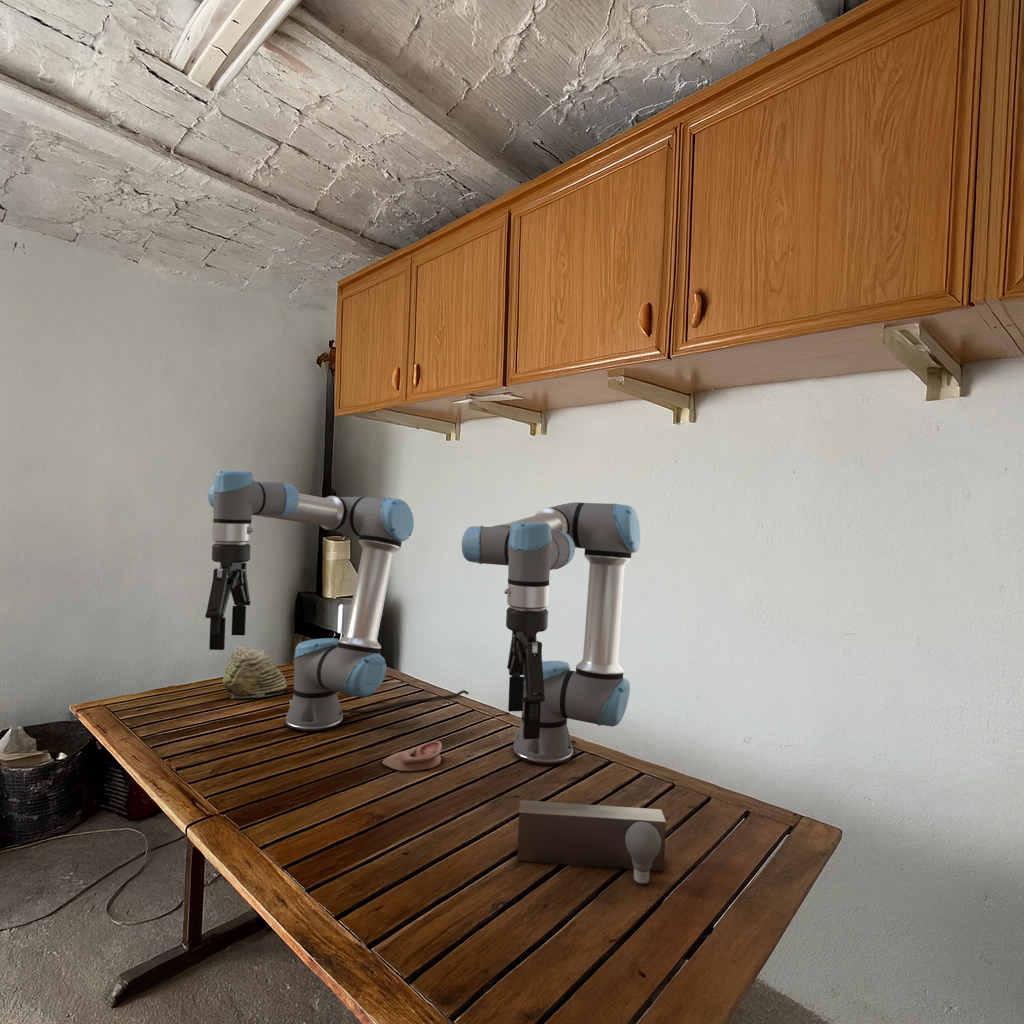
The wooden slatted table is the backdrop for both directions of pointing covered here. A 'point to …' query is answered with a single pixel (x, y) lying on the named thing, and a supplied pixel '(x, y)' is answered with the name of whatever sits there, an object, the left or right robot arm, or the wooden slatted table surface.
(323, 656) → the left robot arm
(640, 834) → the light bulb
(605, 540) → the right robot arm
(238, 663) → the fossil
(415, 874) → the wooden slatted table surface
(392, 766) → the anatomical model
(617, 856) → the bar
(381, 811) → the wooden slatted table surface
